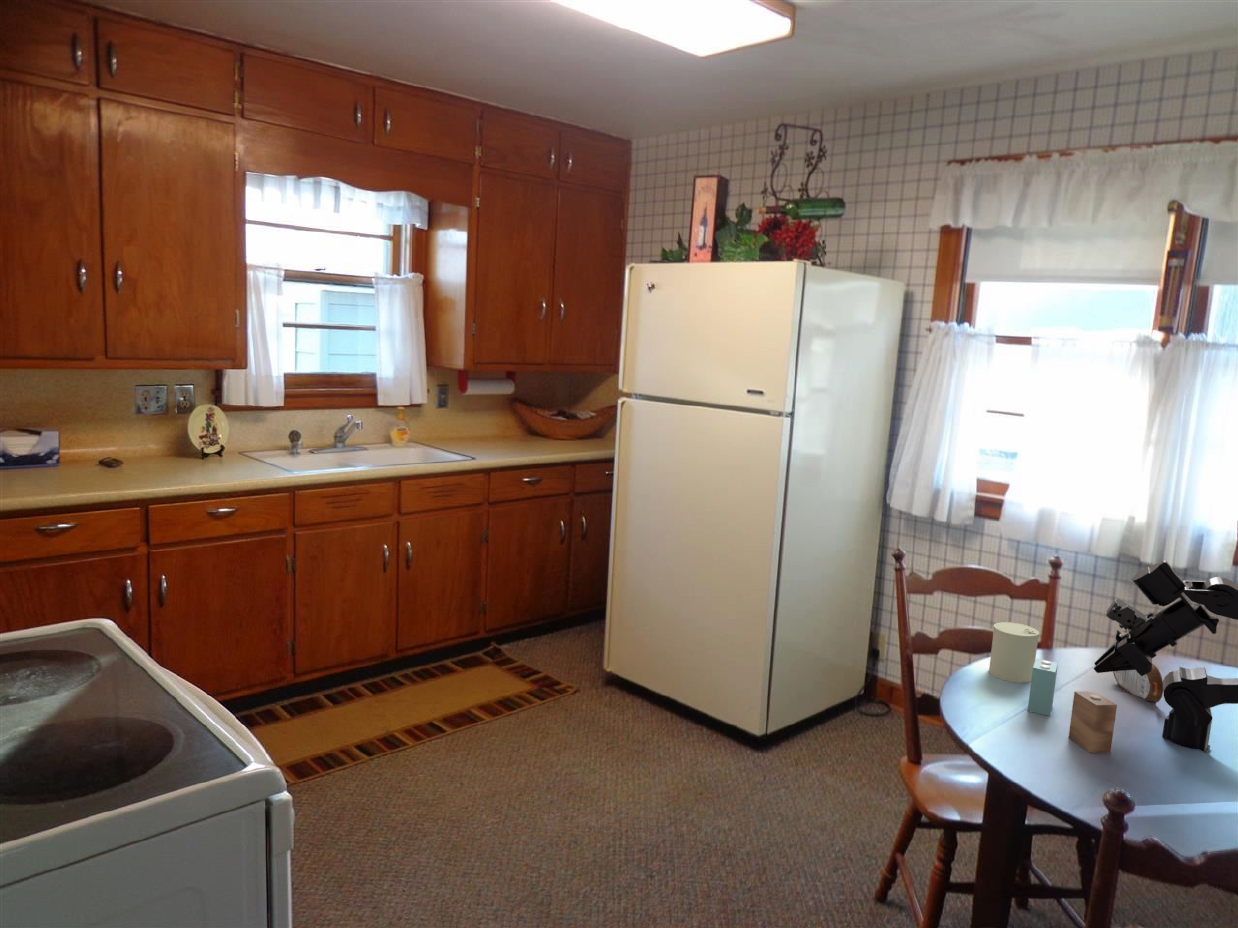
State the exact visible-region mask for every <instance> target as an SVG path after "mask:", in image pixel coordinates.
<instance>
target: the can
mask: <svg viewBox="0 0 1238 928" xmlns="http://www.w3.org/2000/svg"><path fill="white" fill-rule="evenodd" d="M1039 636H1040V632H1039V630H1037V629H1036V628H1034V627H1032V626H1030V625H1026V624H1023V623H1017V622H1013V621H1012V622H1011V621H1009V622H1007V621H1001V622H996V623H994V625H993V632H992V643H991V652H990V660H989V667H988V668H989V669H988V672H989V674H990V675H991V676H994V677H995V678H998V679H1000V680H1003V681H1007V682H1010V683H1011V682H1012V683H1021V684H1022V683H1023V684H1024V683H1031V679H1032V671H1033V666H1034V663H1035V660H1036V659H1037V657H1036V656H1037V650H1038V649H1037V648H1038V641H1039Z"/></svg>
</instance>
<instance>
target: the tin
mask: <svg viewBox="0 0 1238 928" xmlns="http://www.w3.org/2000/svg"><path fill="white" fill-rule="evenodd" d="M1112 673H1113V675H1114V679H1115V681H1116V683H1117V685H1118V686H1119V687H1120V688H1122V689H1123V690H1124V691H1126V692H1127V693H1128V694H1129V695H1131V696H1132V695H1133V696H1137V697H1141V698H1142V699H1143V700H1145V701H1146V702H1155V704H1156V703H1159V702H1160V701H1161V699H1162V698H1163V696H1164V694H1163V677H1162V675H1161V672H1160V670H1159V668H1158V667H1157V666H1156V664H1155V663H1153V662H1152V670H1151V672H1149V673H1147V674H1145V675H1144V676H1141V675H1139V673H1138V672H1137V671H1136V670H1125V671H1113V672H1112Z"/></svg>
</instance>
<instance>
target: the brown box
mask: <svg viewBox="0 0 1238 928" xmlns="http://www.w3.org/2000/svg"><path fill="white" fill-rule="evenodd" d="M1117 707H1118V704H1116V703H1114V701H1112V700H1110V699H1108V698H1107V697H1105V696H1103V695H1102V694H1100V693H1099V692H1097V691H1095V690H1081V691H1078V690H1075V691H1074V692H1073V700H1072V708H1071V716H1070V723H1069V731H1068V739H1070V740H1071V741H1073V742H1074V743H1076V744H1077V745H1078V746H1080V747H1081V748H1083V749H1084V750H1085V751H1087V752H1088V753H1090V754H1101V753H1103V754H1105V753H1111V751H1112V745H1113V737H1114V730H1115V722H1116V716H1117V715H1116V713H1117V709H1118V708H1117Z"/></svg>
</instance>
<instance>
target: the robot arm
mask: <svg viewBox="0 0 1238 928" xmlns="http://www.w3.org/2000/svg"><path fill="white" fill-rule="evenodd" d="M1130 581H1131V582H1132V583H1133V584H1134V586H1136V588H1137V589H1138V590H1139V591H1140V592H1141V594H1143V595H1144V597H1145V598H1146V599H1147V600H1148V601H1149V602H1150V603H1151V604H1152V605H1153V606H1155V605H1157V606H1159V607H1165V608H1163V609H1161V610H1160V611H1158V612H1157V613H1156V612H1155V611H1153V612H1152V611H1150V612H1148V613H1146V614H1144V613H1143V612H1141V611H1140V610H1139V609H1137V608H1135V607H1133V606H1132V605H1130V604H1128V603H1126V602H1125V601H1123V599H1122V600H1121V599H1120V598H1119V597H1118V598H1114V600H1113V602H1112V603H1111V604H1110V605H1109V607H1108V608H1107V609H1106V614H1105V616H1106V617H1107V618H1108V619H1110V620H1111V621H1115V622H1117V623H1118V627H1119V628H1120V629H1123V630H1124V631H1122V632H1120V630H1119V629H1117V630H1116V631H1115V640H1114V642H1113V644H1112V645H1110V647H1109V648H1107V650H1106V651H1105V652H1103V654H1101V656H1100V657H1098V658H1097V659H1096V661H1095V662H1094V665H1095V666H1094V667H1093V670H1094V671H1095V672H1096V674H1100V673H1101V674H1102V673H1110V672H1112V673H1113V671H1125V670H1136V671H1137V672H1138V673H1139V675H1141V676H1144V675H1145V674H1147V673H1149V672H1151V670H1152V663H1153V659H1154V658H1155V657H1157V653H1158V652H1161V651H1162V650H1163V649H1165V648H1167V647H1169V646H1171V647H1172V648H1173V647H1176V645H1178V641H1179V640H1181V639H1183V638H1185V637H1186V636H1188V635H1190V634H1191V633H1193V632H1195V631H1197V630H1198V629H1200V628H1203V627H1204V626H1205V627H1206V629H1207V630H1208V631H1209V632H1211V634H1212V635H1215V634H1216V635H1217V632H1218V631H1217V630H1218V629H1217V627H1218V623H1219V622H1220V618H1219V617H1218V616H1221V617H1224V618H1229V619H1232V620H1236V621H1238V584H1237V583H1236V582H1234V581H1232V580H1231V579H1228V578H1227V577H1222V576H1216V577H1211V578H1208V579H1207V580H1203V581H1202V580H1183V579H1181V577H1180V576H1179V575H1178V574H1177V572H1175V570H1174V569H1173V568H1172V566H1171V565H1170V564H1169V562H1167V560H1166V559H1164V560H1162V561H1160V562H1158V563H1155V564H1152V565H1150V566H1147V567H1144V568H1143V569H1142V570H1140V571H1139V572H1137V573H1136V574H1135V575H1134V576H1133V577H1132V578H1131V579H1130ZM1168 605H1169V606H1168ZM1203 606H1204V607H1203ZM1206 610H1207V611H1206ZM1208 611H1209V612H1208ZM1210 612H1211V614H1210ZM1212 614H1213V615H1212ZM1215 615H1216V616H1215ZM1178 669H1179V670H1178ZM1178 669H1177V670H1172V671H1170V672H1168V673H1167V674H1166V675H1165V676H1164V678H1163V679H1162V681H1163V698H1164V701H1165V702H1166V704H1167V705H1168V706H1169V707H1171V710H1170V711H1169V713H1168V715H1167V716H1166V717H1165V718H1164V721H1163V729H1162V736H1161V737H1162V738H1163V739H1165V740H1167V741H1170V742H1172V743H1173V744H1175V745H1177V746H1179V747H1183V748H1186V749H1190V750H1199V751H1201V752H1203V753H1205V754H1207V753H1208V751H1209V750H1210V749H1211V745H1210V742H1209V741H1210V735H1211V728H1212V723H1213V714H1212V713H1213V712H1212V709H1211V708H1214V707H1217V706H1220V705H1228V704H1229V705H1230V704H1231V705H1233V704H1234V705H1236V704H1237V705H1238V678H1237V677H1236V678H1235V677H1234V678H1233V677H1231V678H1230V677H1229V678H1226V677H1225V678H1224V677H1223V678H1221V677H1215V676H1212V675H1207V670H1206V667H1194V668H1185V667H1182V666H1179V668H1178Z"/></svg>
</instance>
